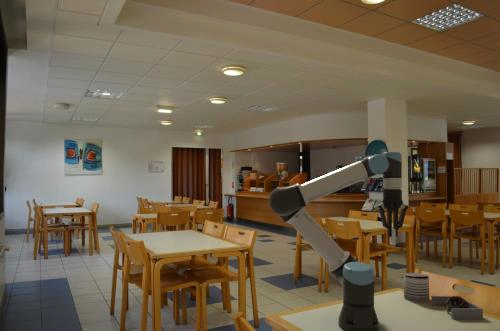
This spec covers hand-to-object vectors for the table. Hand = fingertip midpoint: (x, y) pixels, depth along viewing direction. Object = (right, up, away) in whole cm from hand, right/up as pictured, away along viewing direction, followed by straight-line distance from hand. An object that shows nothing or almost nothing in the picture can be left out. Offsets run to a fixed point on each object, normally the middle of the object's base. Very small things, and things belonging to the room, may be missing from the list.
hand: (392, 244), depth 166 cm
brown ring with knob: (+29, -30, +3) cm, 42 cm away
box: (+29, -30, +4) cm, 42 cm away
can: (+19, -31, +22) cm, 43 cm away
